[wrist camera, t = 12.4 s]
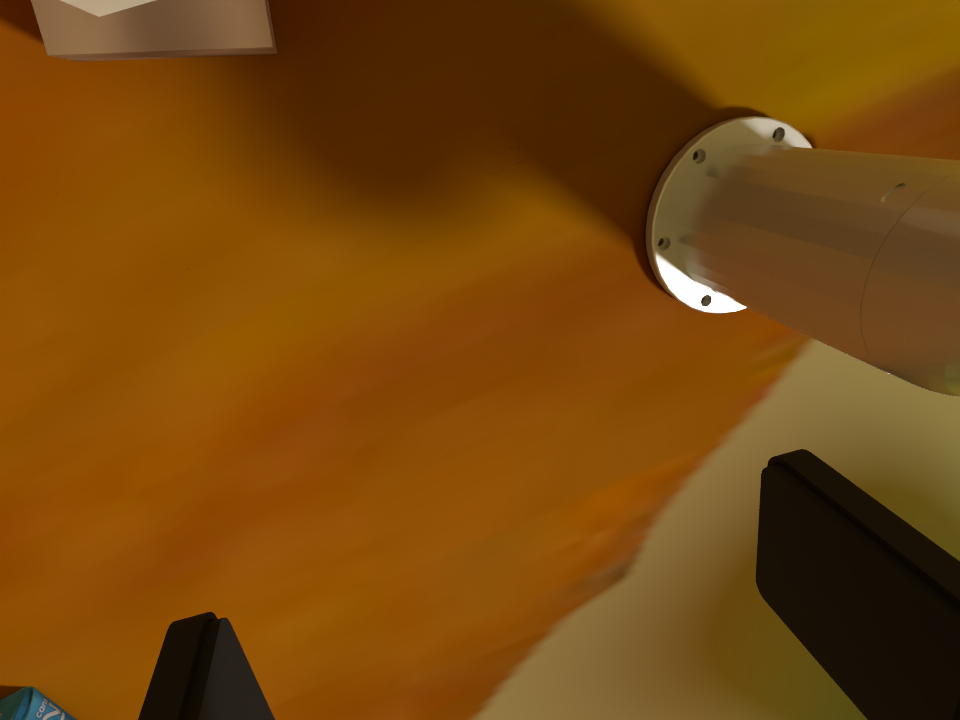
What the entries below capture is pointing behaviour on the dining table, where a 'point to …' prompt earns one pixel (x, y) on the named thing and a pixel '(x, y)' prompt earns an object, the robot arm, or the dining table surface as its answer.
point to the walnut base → (157, 30)
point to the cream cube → (105, 5)
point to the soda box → (31, 707)
